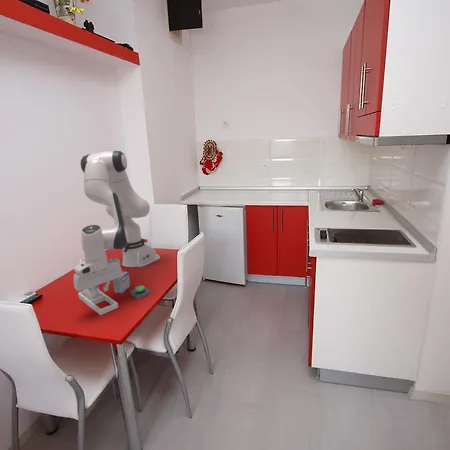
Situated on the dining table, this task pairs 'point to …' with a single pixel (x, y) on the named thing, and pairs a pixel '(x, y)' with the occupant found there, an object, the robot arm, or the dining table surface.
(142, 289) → the button
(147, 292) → the grey button housing
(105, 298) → the white rectangular tray
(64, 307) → the dining table surface
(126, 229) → the robot arm
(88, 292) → the seated billet
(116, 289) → the medicine box
